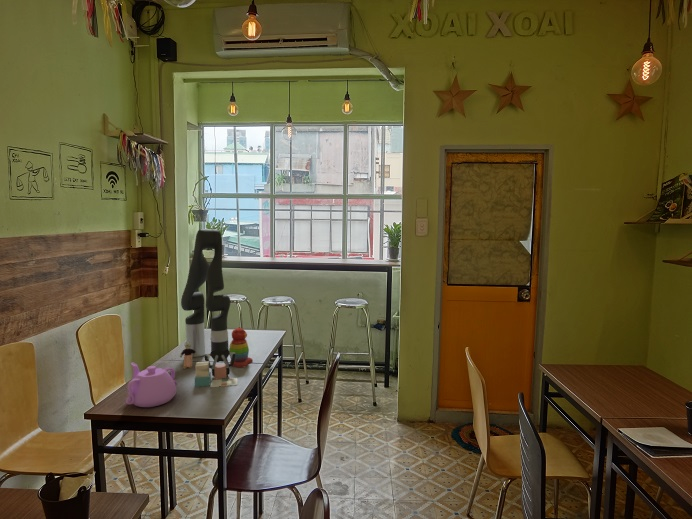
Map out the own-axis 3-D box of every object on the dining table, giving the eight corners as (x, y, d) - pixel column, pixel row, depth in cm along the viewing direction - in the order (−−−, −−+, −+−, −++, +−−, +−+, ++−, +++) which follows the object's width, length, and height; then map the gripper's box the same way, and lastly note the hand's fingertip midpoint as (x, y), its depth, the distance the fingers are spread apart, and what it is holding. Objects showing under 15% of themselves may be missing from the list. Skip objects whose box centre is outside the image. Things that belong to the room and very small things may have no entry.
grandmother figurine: (181, 369, 211) (179, 343, 209) (179, 367, 214) (178, 341, 213) (197, 367, 214) (196, 341, 213) (196, 364, 217) (195, 339, 216)
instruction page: (212, 380, 196) (212, 380, 196) (237, 378, 198) (237, 378, 198) (210, 387, 188) (210, 386, 188) (237, 385, 191) (237, 384, 191)
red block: (215, 375, 203) (215, 364, 202) (227, 374, 204) (226, 363, 203) (214, 379, 198) (214, 368, 197) (226, 378, 199) (226, 367, 198)
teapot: (156, 385, 191) (154, 354, 190) (190, 395, 180) (189, 362, 178) (106, 404, 172) (104, 369, 171) (141, 416, 161) (139, 379, 160)
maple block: (197, 373, 194) (197, 362, 194) (209, 372, 195) (208, 361, 195) (195, 377, 189) (195, 365, 189) (208, 376, 190) (207, 365, 190)
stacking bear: (244, 367, 213) (243, 331, 211) (225, 366, 215) (224, 330, 213) (254, 360, 223) (253, 326, 222) (235, 359, 225) (234, 325, 224)
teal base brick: (196, 381, 195) (196, 373, 194) (210, 380, 196) (210, 371, 196) (195, 386, 189) (194, 377, 189) (209, 385, 190) (209, 376, 190)
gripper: (236, 336, 204) (237, 372, 206) (203, 338, 201) (205, 374, 203) (235, 340, 197) (236, 377, 199) (201, 342, 194) (203, 380, 196)
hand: (220, 375), depth 201 cm, fingers closed on red block, 5 cm apart
